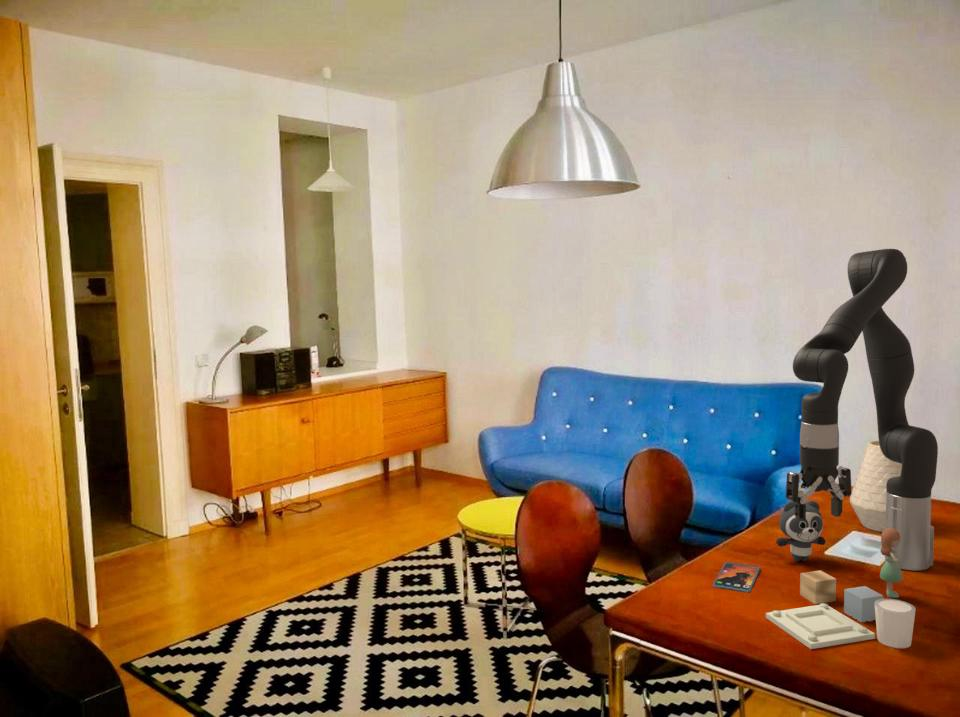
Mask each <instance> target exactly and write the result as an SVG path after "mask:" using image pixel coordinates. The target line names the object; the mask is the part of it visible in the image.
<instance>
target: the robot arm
mask: <svg viewBox="0 0 960 717" xmlns="http://www.w3.org/2000/svg"><path fill="white" fill-rule="evenodd" d="M907 274H908V262H907V258H906V256H905V255H904V253H903V252H902V251H901V250H899V249H897V248H896V249H895V248H883V249H875V250H870V251H869V250H868V251H862V252H861V251H860V252H857V253H854V254H853V255H852V254H851V256H850V258H849V260H848V262H847V278H848V282H849V283H848V284H849V286H850V290H851V294H852V297H851V298H850V299H848V300H846V301H845V302H844V303H842V304H841V305H840V306H838V307H837V308H836V309H835V311H834V312H832V313H831V315H830V316H829V317H828V319H827V321H826V322H825V324H824V326H823V327H822V329H821V331H819V333H817V334H815V335H814V336H813V337H812V338H811V339H810V340H808V341H807V342H806V343H805V344H804V345H803V346H802V347H801V348H800V349H799V350H798V351H797V352H796V354H795V355H794V358H793V362H792V371H793V374H794V376H795V377H796V378H797V379H798V380H800V381H803V382H809V383H820V384H822V385H823V386H822V388H821V390H820V391H819V392H812V393H807V394H805V395H803V397H802V399H801V423H800V430H799V431H800V432H799V463H800V465H801V466H800V467H801V468H800V471H799V472H793V471H787V472H786V485H785V486H786V487H785V498H786V500H790V501H793V502H794V503H795V517H796V518H797V519H798V520H800V521H805V520H806V504H804V503H806V502H807V500H808V499H809V497H811V496H812V495H813V494H814V492H815V493H816V492H817V493H818V492H821V491H825V492H826V491H828V493H829V494H830V495H831V497H830V507H831V508H830V514H831V515H832V516H834V517H835V518H838V517H841V515H842V513H843V500H844V499H845V497H850V496H851V493H852V472H851V469H850V468H848V467H844V466H842V465H840V466H839V463H840V462H839V461H840V460H839V459H840V430H839V402H840V399H841V395H842V391H843V388H844V384H845V381H846V380H847V376H848V373H849V361H848V358H847V356H846V355H845V354H847V353H849V352H850V351H851V350H852V348H853V347H854V345H855V344H856V342H857V340H858V339H859V337H860V335H861V334H862V336H863V341H864V346H865V354H866V360H867V364H868V370H869V374H870V377H871V383H872V384H871V385H872V389H873V396H874V401H875V409H876V419H877V420H876V421H877V435H878V440H879V445H880V449H881V451H882V453H883V455H884V456H885V457H886V458H888V459H889V460H892V461H894V462H898V463H901V464H902V470H901V475H900V476H899V477H892V478H890V479H888V481H887V485H886V529H887V528H893V529H895V530H896V531H898V532H899V534H900V543H899V545H898V546H897V547H892V550H893V551H895V552H896V553H897V554H898V557H897V558H896V559H898V562H897V564H898V565H899V567H900V569H901V570H904V571H905V570H906V571H926V570H927V569H929V568H930V567H931V566H933V567H934V543H935V538H934V535H935V532H934V531H935V527H934V526H933V525H931V524H932V523H931V521H932V520H931V518H932V490H933V488H934V485H935V482H936V477H937V465H938V454H939V448H938V447H939V446H938V441H937V438H936V435H934V433H933V432H932V431H930V430H929V429H926V428H924V427H923V428H922V427H919V426H914V425H910V424H909V421H908V417H907V412H906V408H905V406H906V405H905V402H906V396H907V394H908V391H909V389H910V388H911V384H912V382H913V379H914V375H915V362H914V357H913V352H912V346H911V343H910V340H909V339H908V337H907V336H906V335H905V333H903V331H902V330H901V329H900V328H899V326H897V325H896V323H895V322H894V321H893V320H892V319H891V318H890V317H889V316H888V315H887V313H886V311H885V310H884V308H883V306H884V305H885V304H886V303H887V302H888V300H889V299H890V298H891V297H892V296H893V295H895V293H896V292H897V291H898V290H899V289H900V288H901V286H902V285H903V283H904V282H905V280H906V277H907ZM837 478H838V479H837ZM836 480H837V482H838V483H837V482H836ZM887 559H888V556H884V563H885V562H886V561H887Z"/></svg>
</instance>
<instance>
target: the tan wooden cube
mask: <svg viewBox="0 0 960 717" xmlns="http://www.w3.org/2000/svg"><path fill="white" fill-rule="evenodd" d="M799 575H800V577H799V582H800V583H799V595H800V596H801V597H803V598H804V599H806V600H807V601H809V602H810V603H813V604H814V605H820V604H821V603H824V604H828V603H832V602H833V601H834V602H837V600H836V599H837V596H836V595H837V578H836V577H833V576H832V575H830V574H828V573H826V572H824V571H823V570H821V569H820V570H814V571H807V572H800V574H799ZM834 602H833V603H834Z"/></svg>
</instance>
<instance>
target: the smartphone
mask: <svg viewBox="0 0 960 717" xmlns="http://www.w3.org/2000/svg"><path fill="white" fill-rule="evenodd" d="M760 571H761V567H760V566H758V565H752V564H745V563H738V562H737V563H736V562H731V561H725V563H723V566H722V568H721V570H720V571H719V573H718V574H717V576H716V578H715V580H714V582H713V584H712V587H713V588H717V589H725V590H733V591H737V592H741V593H742V592H743V593H748V594H749V593H751V591H752V589H753V586H754V584H755V582H756V580H757V578H758V576H759V573H760Z"/></svg>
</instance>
